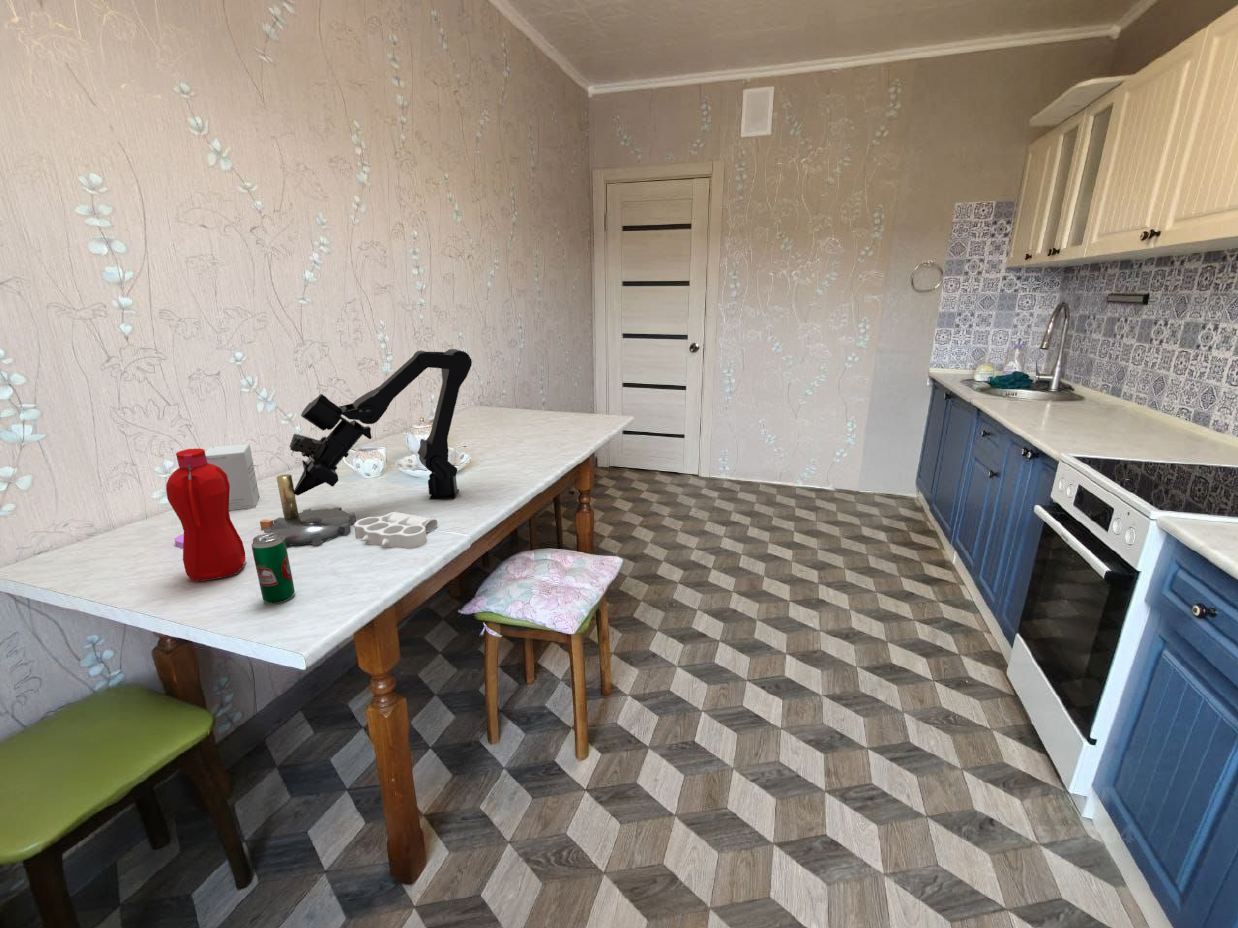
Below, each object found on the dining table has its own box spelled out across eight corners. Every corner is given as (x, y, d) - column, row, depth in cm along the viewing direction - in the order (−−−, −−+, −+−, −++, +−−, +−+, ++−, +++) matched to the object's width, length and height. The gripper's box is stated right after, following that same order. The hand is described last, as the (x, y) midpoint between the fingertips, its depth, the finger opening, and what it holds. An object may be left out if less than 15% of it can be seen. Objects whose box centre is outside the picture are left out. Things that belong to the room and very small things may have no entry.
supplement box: (213, 513, 142) (200, 455, 137) (220, 501, 149) (208, 446, 145) (255, 507, 145) (244, 451, 141) (260, 496, 153) (249, 442, 148)
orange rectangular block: (274, 527, 133) (272, 520, 132) (270, 529, 132) (269, 522, 131) (265, 527, 133) (263, 519, 132) (261, 529, 132) (259, 521, 131)
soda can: (256, 601, 102) (243, 540, 98) (281, 588, 106) (269, 529, 103) (277, 607, 100) (264, 544, 96) (301, 593, 104) (290, 533, 101)
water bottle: (181, 591, 105) (147, 462, 98) (196, 565, 115) (166, 446, 107) (239, 581, 109) (211, 456, 101) (249, 557, 118) (224, 441, 111)
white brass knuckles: (449, 530, 132) (405, 557, 119) (388, 519, 139) (340, 543, 126) (448, 517, 131) (403, 542, 118) (387, 506, 138) (338, 529, 125)
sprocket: (349, 509, 143) (342, 463, 140) (363, 534, 128) (356, 484, 125) (263, 525, 133) (253, 477, 130) (268, 555, 119) (257, 501, 115)
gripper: (305, 414, 139) (261, 464, 136) (313, 429, 124) (264, 486, 121) (345, 440, 145) (303, 489, 143) (357, 458, 130) (311, 513, 128)
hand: (295, 494), depth 133 cm, fingers closed
